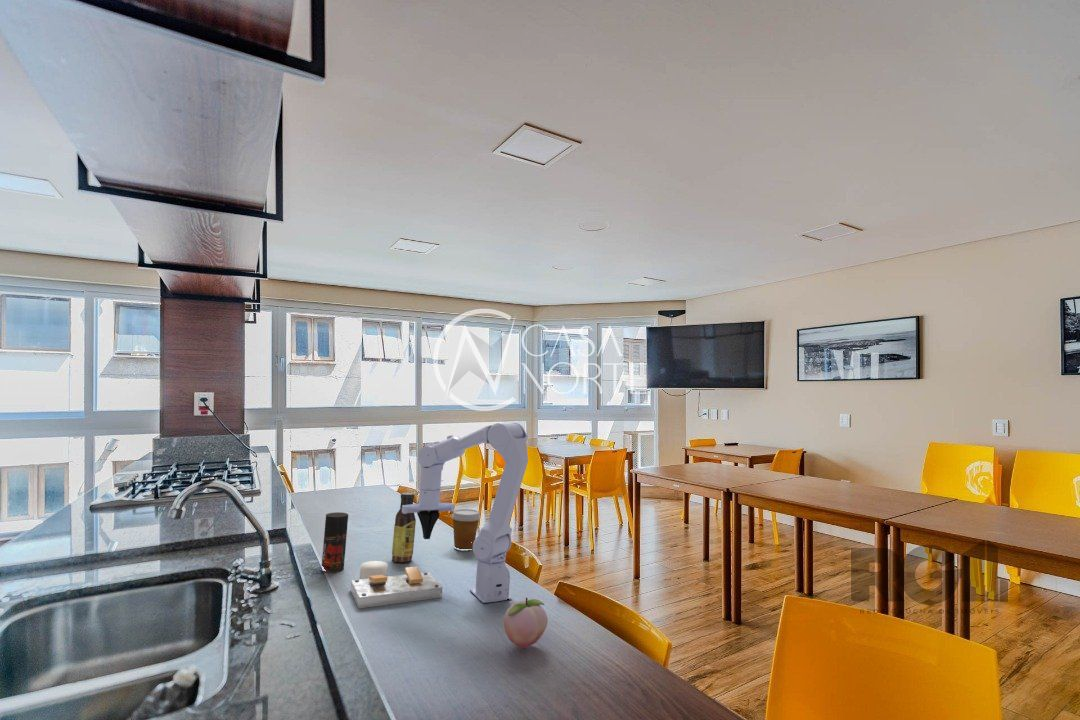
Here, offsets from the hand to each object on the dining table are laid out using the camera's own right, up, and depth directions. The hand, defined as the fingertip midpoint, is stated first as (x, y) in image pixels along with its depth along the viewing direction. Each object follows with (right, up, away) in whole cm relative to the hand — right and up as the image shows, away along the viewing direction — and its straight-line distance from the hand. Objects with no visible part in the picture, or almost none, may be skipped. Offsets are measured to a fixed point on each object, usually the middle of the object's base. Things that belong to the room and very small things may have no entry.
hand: (426, 538), depth 145 cm
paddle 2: (-1, -6, -11) cm, 12 cm away
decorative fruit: (+28, -9, -39) cm, 49 cm away
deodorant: (-27, -9, +1) cm, 28 cm away
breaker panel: (-5, -9, -14) cm, 18 cm away
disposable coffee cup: (+6, -13, +28) cm, 32 cm away
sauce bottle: (-10, -11, +12) cm, 19 cm away
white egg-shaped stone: (-13, -9, -5) cm, 17 cm away
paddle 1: (-9, -5, -15) cm, 18 cm away
